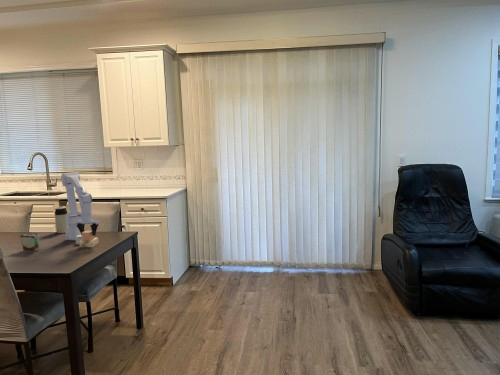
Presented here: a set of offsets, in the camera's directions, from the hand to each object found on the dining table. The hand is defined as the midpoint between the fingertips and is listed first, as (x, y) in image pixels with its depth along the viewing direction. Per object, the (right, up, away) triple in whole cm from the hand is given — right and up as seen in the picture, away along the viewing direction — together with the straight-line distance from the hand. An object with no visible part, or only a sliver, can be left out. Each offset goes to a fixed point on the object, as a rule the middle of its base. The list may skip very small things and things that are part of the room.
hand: (88, 235), depth 226 cm
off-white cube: (-7, -6, +6) cm, 11 cm away
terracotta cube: (0, -3, 0) cm, 3 cm away
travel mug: (-34, -3, +36) cm, 50 cm away
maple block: (0, -7, +1) cm, 7 cm away
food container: (-30, -8, -6) cm, 32 cm away
